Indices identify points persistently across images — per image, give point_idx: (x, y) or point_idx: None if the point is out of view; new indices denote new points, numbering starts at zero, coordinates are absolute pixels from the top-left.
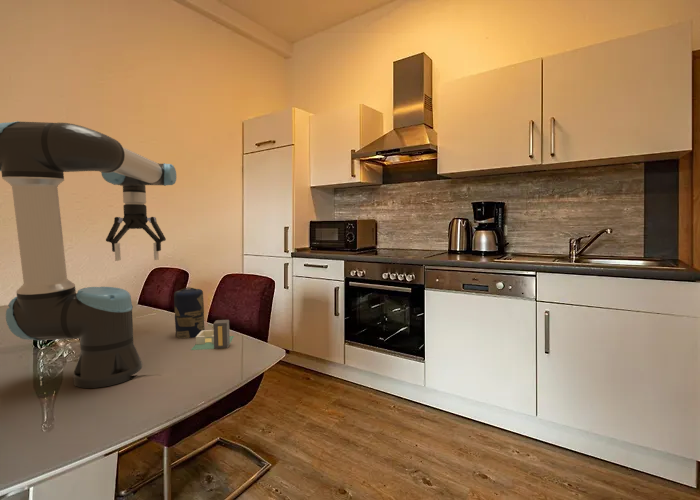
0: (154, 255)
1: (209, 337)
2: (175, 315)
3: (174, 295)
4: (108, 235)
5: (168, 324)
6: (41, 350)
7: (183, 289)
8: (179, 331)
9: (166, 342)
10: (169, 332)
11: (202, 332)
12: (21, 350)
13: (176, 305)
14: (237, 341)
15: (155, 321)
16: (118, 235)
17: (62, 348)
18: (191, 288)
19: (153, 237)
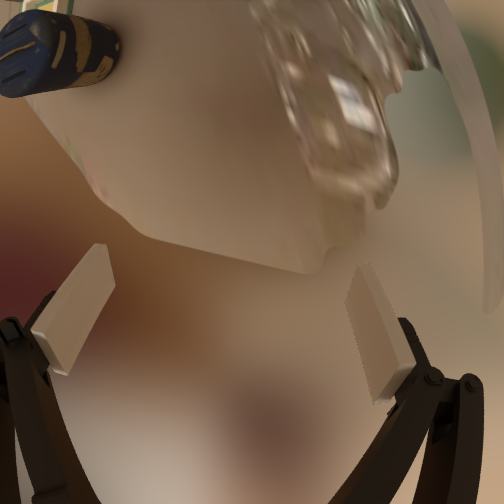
0: (88, 262)
1: None
2: (87, 25)
3: (51, 18)
4: (480, 422)
5: (184, 189)
6: (419, 40)
7: (21, 47)
8: (98, 22)
9: (139, 20)
10: (155, 104)
11: None
12: (454, 62)
13: (64, 16)
14: None
15: (232, 231)
16: (401, 444)
17: (383, 34)
18: (2, 57)
19: (21, 378)
